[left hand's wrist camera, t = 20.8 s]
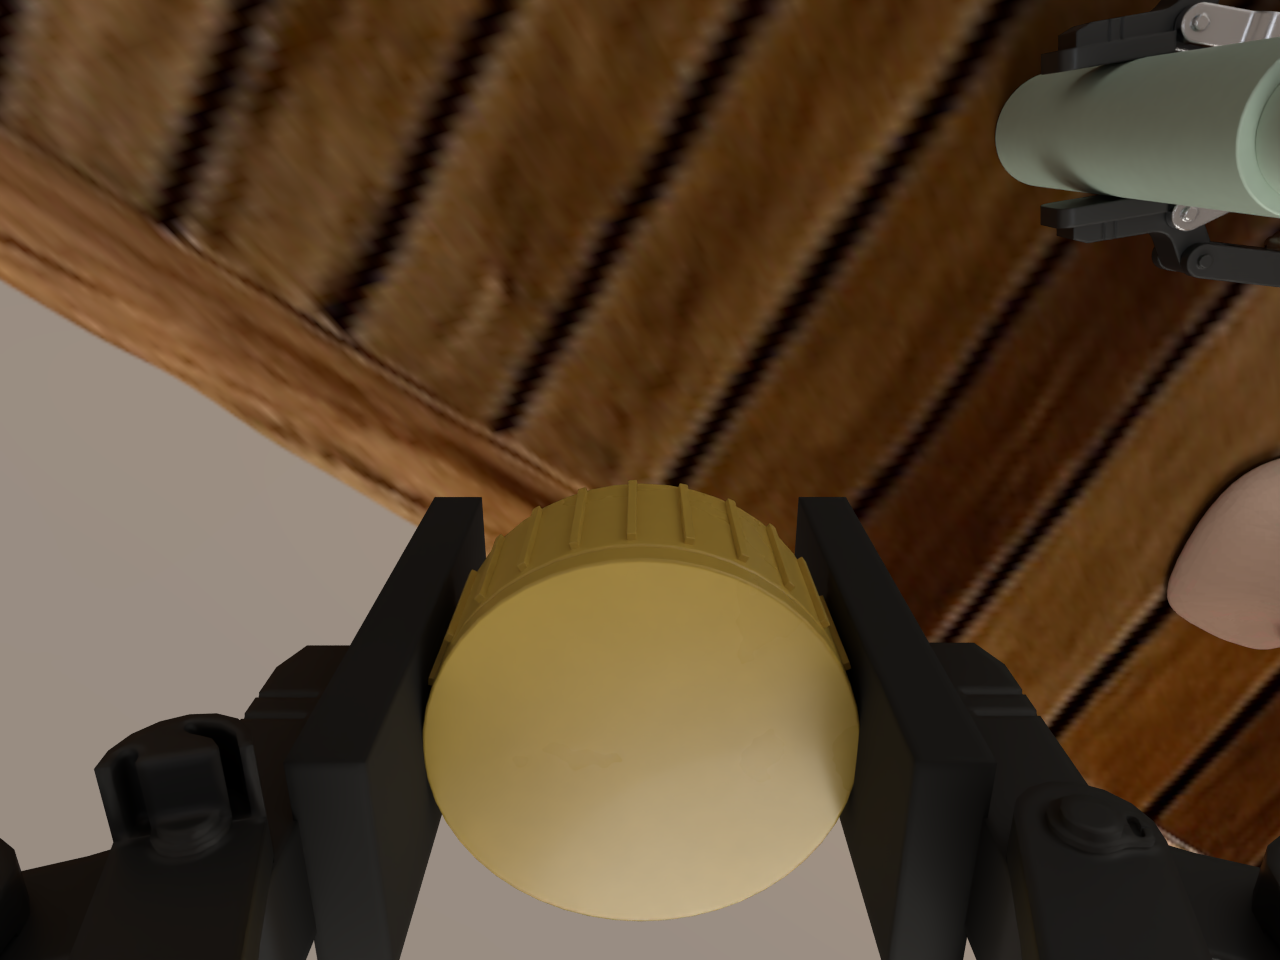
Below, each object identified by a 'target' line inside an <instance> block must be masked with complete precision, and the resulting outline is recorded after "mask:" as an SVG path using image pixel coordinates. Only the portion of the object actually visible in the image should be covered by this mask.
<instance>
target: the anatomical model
mask: <svg viewBox="0 0 1280 960" xmlns="http://www.w3.org/2000/svg"><path fill="white" fill-rule="evenodd" d="M1167 598H1168V602H1169V604H1170V606H1171V607H1172V608H1173V610H1174V611H1175V612H1176V613H1177V614H1179V615H1180V616H1181V617H1183V618H1184V619H1186V620H1187V621H1188V622H1190V623H1192V624H1194V625H1196V626H1197V627H1199V628H1201V629H1203V630H1205V631H1207V632H1209V633H1210V634H1212V635H1214V636H1217V637H1219V638H1221V639H1224V640H1226V641H1229V642H1233V643H1236V644H1239V645H1242V646H1245V647H1249V648H1254V649H1272V648H1277V647H1280V459H1277V460H1274V461H1271V462H1268V463H1266V464H1263V465H1261V466H1259V467H1257V468H1255V469H1253V470H1251V471H1249V472H1248V473H1246V474H1244V475H1243V476H1242V477H1240V478H1239V479H1238V480H1236V481H1235V482H1234V483H1233V484H1231V485H1230V486H1229V487H1228V488H1227V489H1226V490H1225V491H1224V492H1223V493H1222V494H1221V495H1220V496H1219V497H1218V499H1217V500H1216V501H1215V502H1214V503H1213V504H1212V505H1211V507H1210V508H1209V509H1208V510H1207V512H1206V513H1205V515H1204V516H1203V517H1202V519H1201V520H1200V521H1199V523H1198V524H1197V526H1196V528H1195V529H1194V531H1193V533H1192V534H1191V536H1190V537H1189V539H1188V541H1187V542H1186V544H1185V546H1184V548H1183V550H1182V552H1181V554H1180V556H1179V557H1178V559H1177V562H1176V564H1175V566H1174V569H1173V571H1172V573H1171V576H1170V579H1169V582H1168V588H1167Z"/></svg>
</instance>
